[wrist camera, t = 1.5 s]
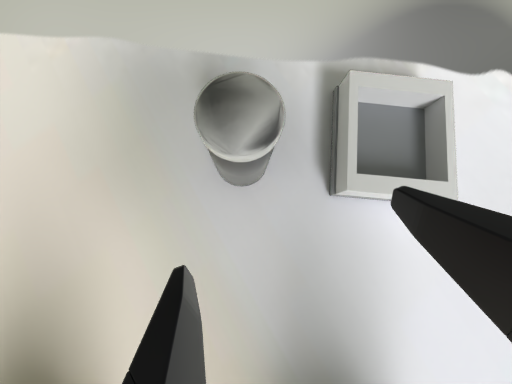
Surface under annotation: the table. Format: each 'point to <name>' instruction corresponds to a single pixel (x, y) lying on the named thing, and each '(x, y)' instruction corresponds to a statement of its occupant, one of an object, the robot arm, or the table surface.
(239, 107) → the gray cylindrical canister
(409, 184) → the white open box
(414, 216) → the robot arm
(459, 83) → the table surface
